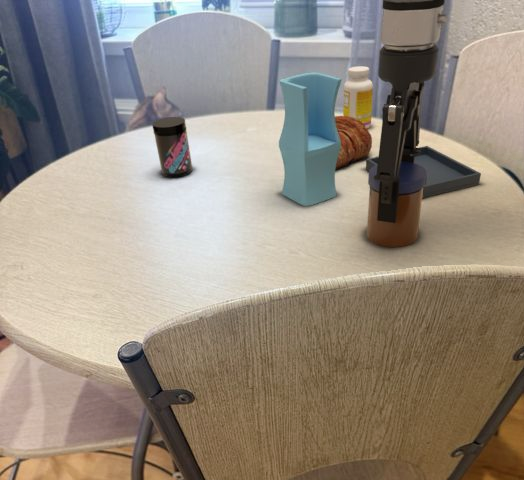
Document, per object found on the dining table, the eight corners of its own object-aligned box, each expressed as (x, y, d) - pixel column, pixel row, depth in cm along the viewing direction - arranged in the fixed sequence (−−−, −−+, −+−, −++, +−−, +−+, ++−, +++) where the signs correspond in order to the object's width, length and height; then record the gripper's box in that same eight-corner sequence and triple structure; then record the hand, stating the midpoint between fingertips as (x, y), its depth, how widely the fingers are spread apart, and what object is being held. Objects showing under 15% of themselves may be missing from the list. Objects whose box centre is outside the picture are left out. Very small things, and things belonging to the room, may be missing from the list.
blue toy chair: (305, 207, 97) (302, 88, 84) (281, 193, 102) (275, 80, 89) (339, 195, 100) (342, 78, 87) (314, 182, 105) (313, 71, 92)
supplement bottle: (375, 124, 129) (378, 65, 121) (363, 132, 125) (366, 72, 117) (350, 121, 132) (351, 64, 124) (338, 129, 128) (339, 71, 120)
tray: (479, 184, 99) (481, 173, 97) (412, 200, 96) (413, 189, 94) (425, 155, 111) (427, 145, 110) (365, 169, 108) (366, 159, 107)
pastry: (390, 163, 110) (393, 123, 105) (319, 175, 108) (319, 135, 102) (359, 138, 122) (360, 101, 117) (295, 148, 120) (294, 111, 115)
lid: (431, 174, 82) (432, 163, 81) (419, 197, 76) (420, 185, 75) (376, 169, 85) (377, 159, 84) (361, 190, 80) (361, 179, 78)
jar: (427, 239, 84) (435, 179, 78) (382, 251, 83) (387, 190, 76) (400, 219, 90) (405, 162, 84) (358, 230, 88) (360, 172, 82)
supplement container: (158, 179, 112) (148, 128, 106) (165, 167, 118) (155, 117, 111) (190, 177, 112) (182, 126, 105) (195, 165, 117) (187, 115, 110)
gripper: (420, 65, 60) (401, 243, 75) (453, 28, 75) (432, 184, 89) (356, 63, 63) (350, 235, 78) (400, 28, 78) (388, 179, 92)
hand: (394, 207), depth 83 cm, fingers closed on lid, 8 cm apart
